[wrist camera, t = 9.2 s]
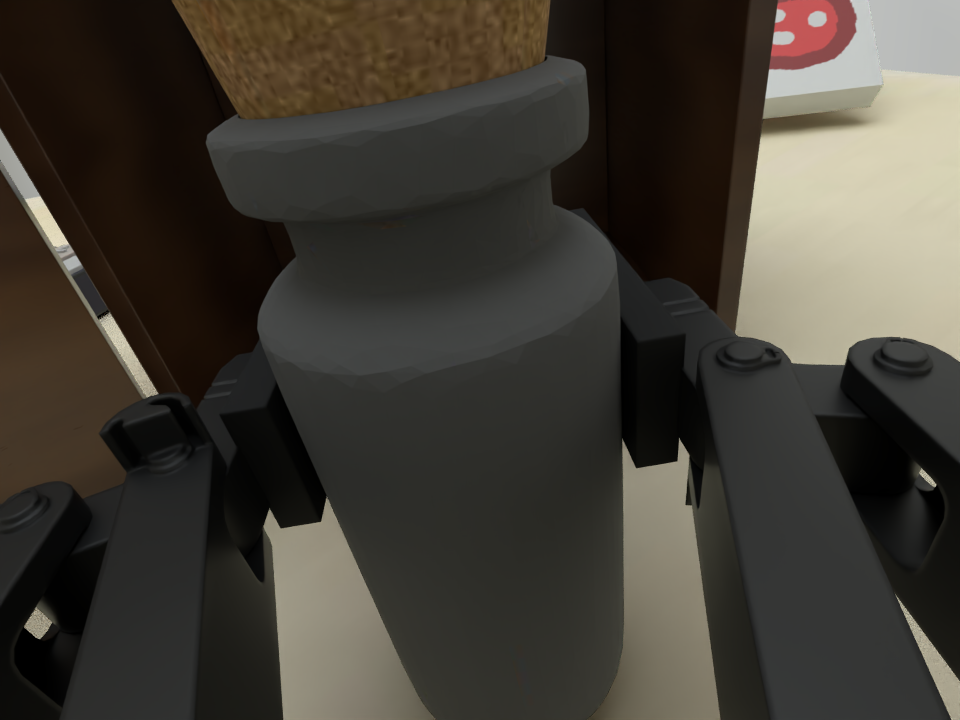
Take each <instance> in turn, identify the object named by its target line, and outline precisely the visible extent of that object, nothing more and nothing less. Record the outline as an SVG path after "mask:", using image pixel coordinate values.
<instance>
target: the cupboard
mask: <svg viewBox="0 0 960 720" xmlns="http://www.w3.org/2000/svg"><path fill="white" fill-rule="evenodd" d="M777 5H778V0H550V9H549V19H548V29H547V39H546V49H545V55H549V56H555V57H560V58H565V59H570V60H575V61H577V62H579V63H581V64H582V65H583V66H584V68H585V69H586V77H587V89H588V102H589V131H588V137H587V140H586V142H585V143H584V144H583V146H582V147H581V149H580V150H579V151H577V152H576V153H575V154H573V155H572V156H571V157H569V158H568V159H566V160H565V161H563V162H562V163H560V164H559V165H557V166H555V167H554V168H552V169H551V171H550V180H551V192H552V202H553V205H556V206H559V207H561V208H563V209H566V210H568V211H569V210H575V209H581V208H584V210H585V211H586V212H587V213H588V214H589V216H590V217H591V218H592V219H593V221H594V222H595V223H596V224H597V225H598V227H599V228H600V229H601V230H602V232H603V233H604V234H605V235H606V236H607V238H608V239H609V240H610V241H611V243H612V244H613V245H614V246H615V247H616V249H617V250H618V251H619V252H620V254H621V255H622V256H623V257H624V258H625V260H626V261H627V262H628V263H629V265H630V266H631V267H632V268H633V269H634V271H635V272H636V273H637V274H638V276H639V277H640V278H641V279H642V280H643V282H646V281H651V280H657V279H663V278H672V279H674V280H676V281H679V282H681V283H683V284H686V285H688V286H689V287H690V288H691V289H692V290H693V291H694V292H695V293H696V294H697V295H698V296H699V297H700V300H703V301H704V302H705V303H706V304H707V305H708V306H709V310H711V309H712V310H713V311H714V312H715V313H716V314H717V316H718V317H719V318H720V319H721V320H722V321H723V322H724V323H725V324H726V325H727V326H728V327H729V328H730V329H731V330H732V331H733V332H734V333H735V328H736V321H737V313H738V305H739V298H740V290H741V282H742V275H743V267H744V259H745V252H746V244H747V236H748V228H749V221H750V213H751V205H752V198H753V190H754V182H755V175H756V167H757V159H758V152H759V144H760V136H761V128H762V121H763V113H764V105H765V98H766V90H767V82H768V75H769V67H770V59H771V52H772V44H773V36H774V28H775V21H776V13H777ZM237 114H238V113H237V111H236V109H235V108H234V106H233V104H232V103H231V101H230V99H229V97H228V96H227V94H226V92H225V91H224V89H223V87H222V86H221V84H220V82H219V80H218V79H217V77H216V75H215V74H214V72H213V70H212V69H211V67H210V65H209V63H208V62H207V60H206V58H205V57H204V55H203V53H202V51H201V50H200V48H199V46H198V45H197V43H196V41H195V40H194V38H193V36H192V34H191V33H190V31H189V29H188V28H187V26H186V24H185V23H184V21H183V19H182V17H181V16H180V14H179V12H178V11H177V9H176V7H175V6H174V4H173V2H172V0H0V129H1V131H2V132H3V134H4V136H5V137H6V139H7V141H8V142H9V144H10V146H11V148H12V149H13V151H14V153H15V154H16V156H17V158H18V159H19V161H20V163H21V164H22V166H23V168H24V169H25V171H26V173H27V174H28V176H29V178H30V179H31V181H32V182H33V184H34V186H35V188H36V189H37V191H38V193H39V194H40V196H41V198H42V199H43V201H44V203H45V204H46V206H47V208H48V210H49V211H50V213H51V215H52V216H53V218H54V220H55V221H56V223H57V225H58V226H59V228H60V230H61V231H62V233H63V235H64V236H65V238H66V240H67V241H68V243H69V245H70V246H71V248H72V250H73V251H74V253H75V255H76V256H77V258H78V260H79V261H80V263H81V265H82V266H83V268H84V270H85V271H86V273H87V275H88V277H89V278H90V280H91V282H92V283H93V285H94V287H95V288H96V290H97V292H98V293H99V295H100V297H101V298H102V300H103V302H104V303H105V305H106V307H107V308H108V310H109V312H110V313H111V315H112V317H113V318H114V320H115V322H116V323H117V325H118V327H119V328H120V330H121V332H122V333H123V335H124V337H125V338H126V340H127V342H128V344H129V345H130V347H131V349H132V350H133V352H134V354H135V355H136V357H137V359H138V360H139V362H140V364H141V365H142V367H143V369H144V370H145V372H146V374H147V375H148V377H149V379H150V380H151V382H152V384H153V385H154V387H155V389H156V390H157V392H158V394H163V393H167V392H178V393H182V394H185V395H187V396H189V398H190V400H191V402H192V403H193V405H194V407H195V409H197V407H198V405H199V404H200V402H201V400H204V395H205V394H206V392H207V391H208V389H209V387H212V385H211V384H212V382H213V381H214V379H215V377H216V376H217V374H218V372H219V371H220V369H221V368H222V367H224V366H225V365H226V364H227V363H228V362H229V361H231V360H232V359H233V358H234V357H235V356H236V355H239V354H244V353H250V352H253V350H254V348H255V346H256V345H257V343H258V341H259V339H260V337H259V333H258V329H257V326H258V315H259V311H260V308H261V305H262V303H263V301H264V299H265V297H266V295H267V293H268V291H269V289H270V287H271V286H272V284H273V283H274V281H275V279H276V278H277V277H278V276H279V275H280V273H281V272H282V271H283V270H284V269H285V268H286V266H287V265H288V264H289V263H290V262H291V261H292V260H293V259H294V258H295V257H296V254H295V251H294V248H293V245H292V242H291V240H290V237H289V234H288V232H287V230H286V227H285V225H284V223H283V222H270V221H266V220H261V219H256V218H252V217H247V216H245V215H243V214H241V213H240V212H239V211H237V210H236V209H235V208H234V207H233V206H232V204H231V203H230V202H229V200H228V198H227V196H226V193H225V191H224V189H223V187H222V184H221V182H220V180H219V178H218V175H217V173H216V171H215V169H214V166H213V163H212V160H211V157H210V154H209V151H208V148H207V145H206V140H207V135H208V134H209V133H210V132H211V131H213V130H214V129H215V128H217V127H218V126H219V125H221V124H222V123H223V122H225V121H226V120H228V119H230V118H231V117H233V116H235V115H237Z"/></svg>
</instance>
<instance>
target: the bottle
mask: <svg viewBox="0 0 960 720" xmlns="http://www.w3.org/2000/svg"><path fill="white" fill-rule="evenodd" d="M172 2H173V4H174V6H175V7H176V9H177V11H178V12H179V14H180V16H181V17H182V19H183V21H184V23H185V24H186V26H187V28H188V29H189V31H190V33H191V34H192V36H193V38H194V40H195V41H196V43H197V45H198V46H199V48H200V50H201V51H202V53H203V55H204V57H205V58H206V60H207V62H208V63H209V65H210V67H211V69H212V70H213V72H214V74H215V75H216V77H217V79H218V80H219V82H220V84H221V86H222V87H223V89H224V91H225V92H226V94H227V96H228V97H229V99H230V101H231V103H232V104H233V106H234V108H235V109H236V111H237V113H238V114H237V115H235V116H233V117H231V118H230V119H228V120H226V121H225V122H223V123H222V124H221V125H219V126H218V127H217V128H215V129H214V130H213V131H211V132H210V133H209V134H208V135H207V140H206V145H207V148H208V151H209V154H210V157H211V160H212V163H213V166H214V169H215V171H216V173H217V175H218V178H219V180H220V182H221V184H222V187H223V189H224V191H225V193H226V196H227V198H228V200H229V202H230V203H231V204H232V206H233V207H234V208H235V209H236V210H237V211H239V212H240V213H241V214H243V215H245V216H247V217H252V218H256V219H261V220H266V221H270V222H283V223H284V225H285V227H286V230H287V232H288V234H289V237H290V240H291V242H292V245H293V248H294V251H295V254H296V257H295V258H294V259H293V260H292V261H291V262H290V263H289V264H288V265H287V266H286V268H285V269H284V270H283V271H282V272H281V273H280V275H279V276H278V277H277V278H276V279H275V281H274V283H273V284H272V286H271V287H270V289H269V291H268V293H267V295H266V297H265V299H264V301H263V303H262V305H261V308H260V311H259V315H258V326H257V329H258V333H259V337H260V340H261V343H262V347H263V349H264V352H265V354H266V356H267V359H268V361H269V364H270V366H271V369H272V371H273V374H274V376H275V379H276V381H277V383H278V386H279V388H280V391H281V393H282V396H283V398H284V400H285V403H286V405H287V407H288V410H289V412H290V414H291V416H292V419H293V421H294V423H295V425H296V428H297V430H298V432H299V434H300V437H301V439H302V441H303V443H304V446H305V448H306V450H307V452H308V455H309V457H310V459H311V461H312V464H313V466H314V468H315V470H316V473H317V475H318V477H319V479H320V482H321V484H322V486H323V488H324V491H325V493H326V495H327V497H328V500H329V502H330V504H331V506H332V509H333V511H334V513H335V515H336V518H337V520H338V522H339V524H340V527H341V529H342V531H343V533H344V536H345V538H346V540H347V542H348V545H349V547H350V549H351V551H352V553H353V556H354V558H355V560H356V562H357V565H358V567H359V569H360V571H361V574H362V576H363V578H364V580H365V582H366V585H367V587H368V589H369V591H370V594H371V596H372V598H373V600H374V603H375V605H376V607H377V609H378V611H379V614H380V616H381V618H382V620H383V623H384V625H385V627H386V629H387V631H388V634H389V636H390V638H391V640H392V642H393V645H394V647H395V649H396V651H397V653H398V656H399V658H400V660H401V662H402V664H403V666H404V668H405V670H406V672H407V674H408V676H409V678H410V680H411V682H412V684H413V686H414V688H415V690H416V692H417V694H418V696H419V697H420V699H421V701H422V702H423V704H424V705H425V706H426V708H427V709H428V710H429V711H430V713H431V714H432V715H433V716H434V718H436V719H437V720H587V719H588V718H589V717H590V716H591V715H592V714H593V713H594V712H595V711H596V710H597V708H598V707H599V706H600V704H601V703H602V702H603V701H604V699H605V697H606V695H607V694H608V692H609V690H610V688H611V685H612V683H613V681H614V678H615V676H616V674H617V671H618V667H619V662H620V658H621V653H622V646H623V626H624V588H623V469H622V397H621V330H620V297H619V285H618V274H617V262H616V256H615V252H614V250H613V249H612V247H611V245H610V243H609V242H608V240H607V239H606V238H605V237H604V236H603V235H602V234H601V233H600V232H599V231H598V230H597V229H596V228H594V227H593V226H592V225H591V224H590V223H588V222H587V221H585V220H584V219H583V218H581V217H579V216H577V215H576V214H574V213H572V212H570V211H568V210H566V209H563V208H561V207H559V206H556V205H553V202H552V192H551V180H550V171H551V169H552V168H554V167H555V166H557V165H559V164H560V163H562V162H563V161H565V160H566V159H568V158H569V157H571V156H572V155H573V154H575V153H576V152H577V151H579V150H580V149H581V147H582V146H583V144H584V143H585V142H586V140H587V137H588V131H589V102H588V89H587V77H586V69H585V68H584V66H583V65H582V64H581V63H579V62H577V61H575V60H570V59H565V58H560V57H555V56H549V55H545V49H546V39H547V29H548V19H549V9H550V0H172Z"/></svg>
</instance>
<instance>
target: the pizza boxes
mask: <svg viewBox="0 0 960 720" xmlns="http://www.w3.org/2000/svg"><path fill="white" fill-rule="evenodd" d="M882 86H883V79H882V73H881V68H880V62H879V56H878V51H877V45H876V39H875V34H874V28H873V22H872V16H871V11H870V5H869V0H778V5H777V13H776V21H775V28H774V36H773V44H772V52H771V59H770V67H769V75H768V82H767V90H766V98H765V105H764V113H763V119H767V118H776V117H785V116H794V115H803V114H812V113H821V112H830V111H839V110H847V109H856V108H865V107H870V106H871V104H872V102H873V101H874V99H875V98H876V96H877V94H878V93H879V91H880V89H881V88H882Z"/></svg>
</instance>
